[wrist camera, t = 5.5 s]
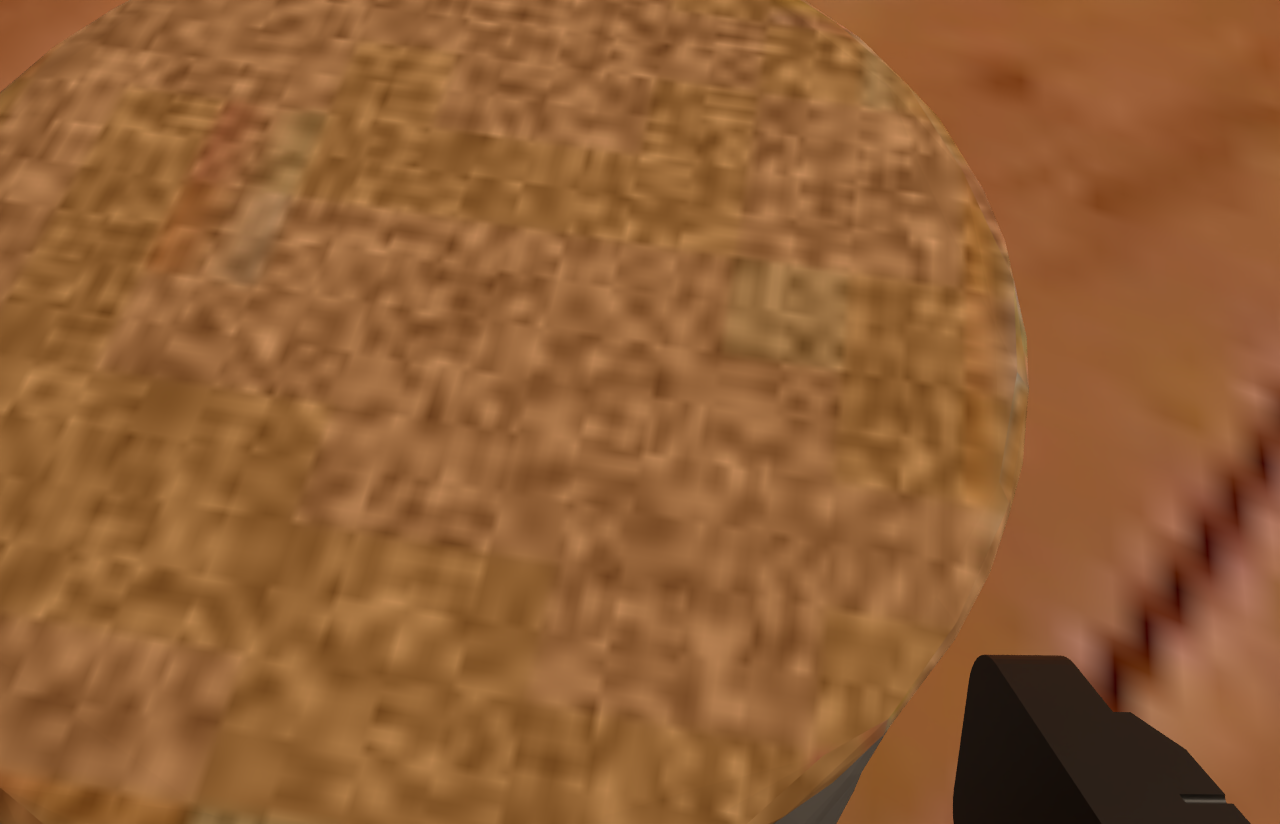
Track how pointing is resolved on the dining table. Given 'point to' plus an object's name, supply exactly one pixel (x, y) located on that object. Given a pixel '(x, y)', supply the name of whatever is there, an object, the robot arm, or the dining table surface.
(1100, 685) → the dining table surface
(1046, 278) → the dining table surface
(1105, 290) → the dining table surface
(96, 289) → the bottle
